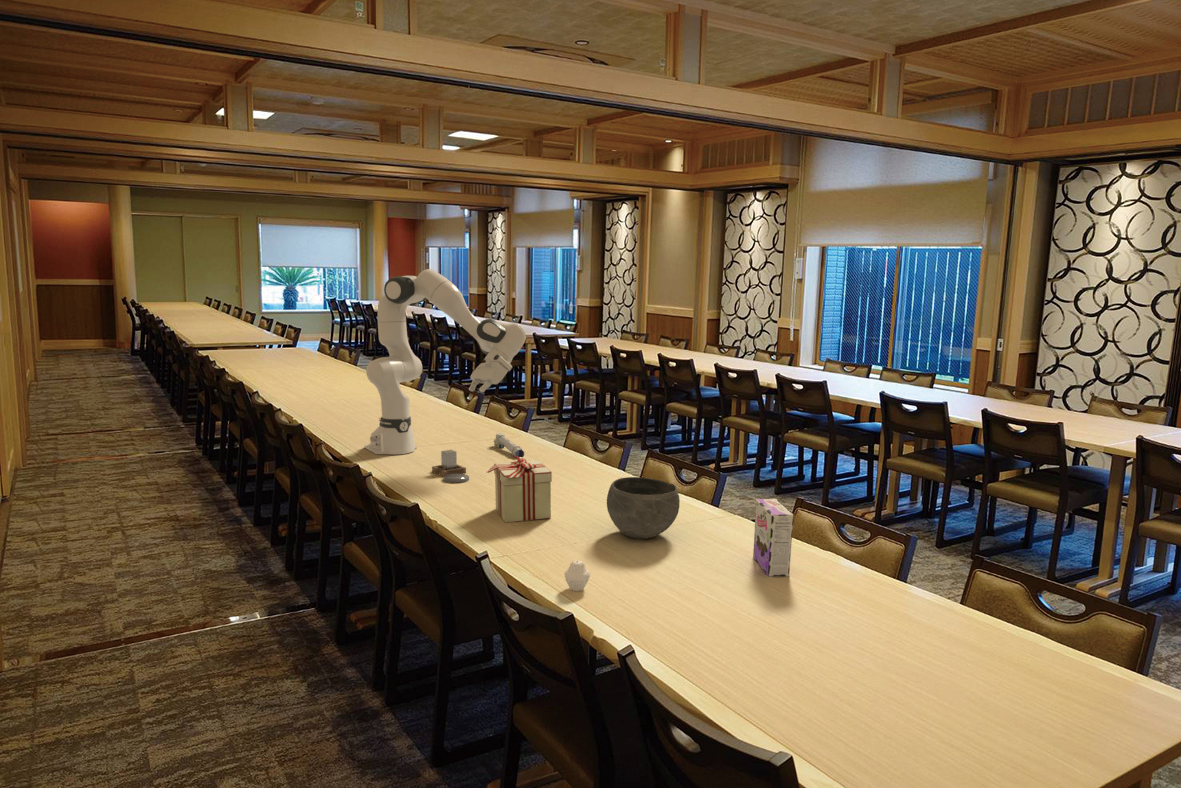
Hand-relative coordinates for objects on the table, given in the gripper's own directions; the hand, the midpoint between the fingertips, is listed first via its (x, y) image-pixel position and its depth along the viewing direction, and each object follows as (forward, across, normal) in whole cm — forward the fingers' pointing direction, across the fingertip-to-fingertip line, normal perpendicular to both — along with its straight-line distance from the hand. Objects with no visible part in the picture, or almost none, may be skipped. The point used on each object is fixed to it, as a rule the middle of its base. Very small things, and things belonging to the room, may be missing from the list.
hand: (475, 390), depth 298 cm
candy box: (+14, +125, +48) cm, 135 cm away
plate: (+31, +9, +10) cm, 34 cm away
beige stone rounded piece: (+47, +113, +9) cm, 123 cm away
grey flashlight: (+6, -22, +36) cm, 42 cm away
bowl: (+22, +89, +34) cm, 98 cm away
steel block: (+30, -2, +11) cm, 32 cm away
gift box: (+34, +56, +15) cm, 67 cm away
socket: (+30, -2, +11) cm, 32 cm away
